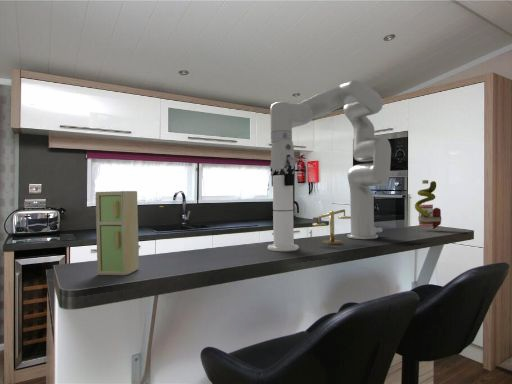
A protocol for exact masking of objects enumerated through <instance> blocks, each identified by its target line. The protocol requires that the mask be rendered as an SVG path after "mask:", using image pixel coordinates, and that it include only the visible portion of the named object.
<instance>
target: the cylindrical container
mask: <svg viewBox="0 0 512 384" xmlns="http://www.w3.org/2000/svg"><path fill="white" fill-rule="evenodd" d="M272 210H273V211H272V216H273V218H272V222H273V223H272V224H273V228H272V229H273V244H274V246H275V247H293V246H294V244H295V242H294V241H295V240H294V239H295V237H294V235H295V233H294V185H293V186H285V185H284V174H279V175H275V176H273V186H272Z"/></svg>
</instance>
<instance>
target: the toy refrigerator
mask: <svg viewBox="0 0 512 384" xmlns="http://www.w3.org/2000/svg"><path fill="white" fill-rule="evenodd" d="M94 195H95V225H96V226H95V228H96V254H97V255H96V261H97V262H96V264H97V267H96V268H97V269H96V270H97V275H99V276H127V275H129V274H131V273H134V272H135V271H138V270H139V269H140V254H139V251H140V250H139V249H140V248H139V247H140V246H139V217H138V214H139V210H138V191H137V190H119V191H116V190H115V191H112V190H111V191H96V192H95V194H94Z"/></svg>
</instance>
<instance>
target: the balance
mask: <svg viewBox="0 0 512 384" xmlns="http://www.w3.org/2000/svg"><path fill="white" fill-rule="evenodd" d="M340 213H343V216H341V215H340V216H337V219H338V220H339V219H341V220H343V219H345V220H349V219H350V220H351V215H350V216H349V215H346V209H340V210H336V211H334V210H331V211H329V212H328V213H326V214H320V215H318V216H316V217H312V223H311V224H312V226H314V227H325V226H326V225H327V223H324V222H322V218H326V217H329V240H327V239H326V240H321V244H322V245H327V246H331V245H343V244H344V240H340V239H335V215H338V214H340Z"/></svg>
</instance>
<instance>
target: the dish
mask: <svg viewBox="0 0 512 384" xmlns="http://www.w3.org/2000/svg"><path fill="white" fill-rule="evenodd" d="M299 248H300V247H299V245H298V244H295V243H294V246H293V247H275V246H274V243H272V244H268V245H267V250H269V251H271V252H272V251H273V252H283V253H284V252H285V253H286V252H296V251H298V250H299Z"/></svg>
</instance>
